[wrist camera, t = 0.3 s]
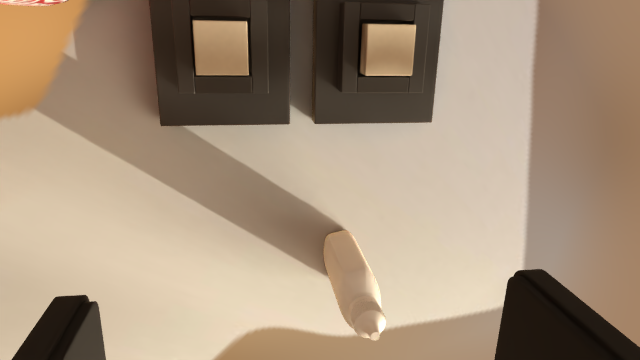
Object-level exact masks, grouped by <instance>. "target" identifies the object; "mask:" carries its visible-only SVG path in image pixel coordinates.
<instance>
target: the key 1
mask: <svg viewBox="0 0 640 360" xmlns="http://www.w3.org/2000/svg"><path fill="white" fill-rule="evenodd" d="M193 36H194V52H195V68H196V75H249V71H248V36H247V21H214V20H193Z"/></svg>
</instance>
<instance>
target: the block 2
mask: <svg viewBox="0 0 640 360" xmlns="http://www.w3.org/2000/svg"><path fill="white" fill-rule="evenodd" d="M443 2H444V0H314V6H313V75H312V120H313V122H314V123H315V124H349V123H425V122H432V115H433V104H434V94H435V84H436V74H437V63H438V53H439V43H440V33H441V22H442V12H443ZM362 24H410V25H416V33H415V45H414V57H413V70H412V75H411V76H366V75H364V74H361V73H360V57H361V36H362Z"/></svg>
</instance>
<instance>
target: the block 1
mask: <svg viewBox="0 0 640 360" xmlns="http://www.w3.org/2000/svg"><path fill="white" fill-rule="evenodd" d="M149 3H150V14H151V25H152V36H153V47H154V58H155V69H156V80H157V91H158V102H159V113H160V124H161V126H194V125H271V124H290V0H149ZM193 20H214V21H247V36H248V71H249V75H196V68H195V52H194V36H193Z"/></svg>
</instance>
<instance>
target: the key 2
mask: <svg viewBox="0 0 640 360" xmlns="http://www.w3.org/2000/svg"><path fill="white" fill-rule="evenodd" d="M415 33H416V25H410V24H362V36H361V57H360V73H361V74H364V75H366V76H411V75H412V70H413V57H414V45H415Z"/></svg>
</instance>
